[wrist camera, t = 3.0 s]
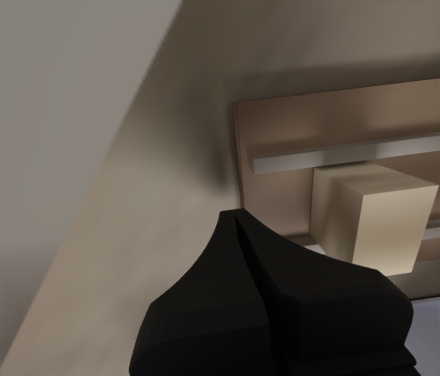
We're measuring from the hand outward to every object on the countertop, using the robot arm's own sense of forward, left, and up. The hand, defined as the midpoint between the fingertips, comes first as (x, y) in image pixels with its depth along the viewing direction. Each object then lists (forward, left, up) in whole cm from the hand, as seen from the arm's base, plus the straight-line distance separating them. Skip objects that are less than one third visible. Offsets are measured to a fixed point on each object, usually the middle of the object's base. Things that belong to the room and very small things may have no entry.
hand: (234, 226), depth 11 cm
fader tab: (0, -6, -1) cm, 6 cm away
